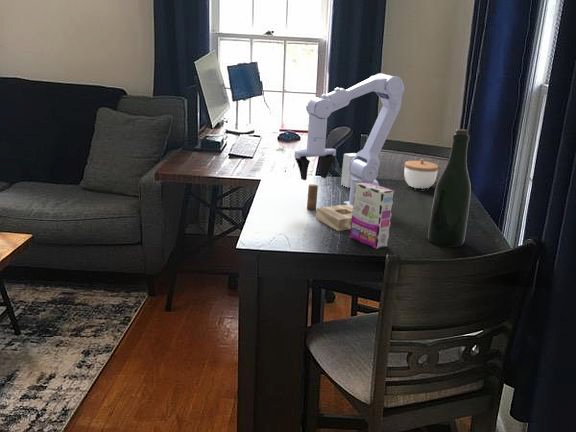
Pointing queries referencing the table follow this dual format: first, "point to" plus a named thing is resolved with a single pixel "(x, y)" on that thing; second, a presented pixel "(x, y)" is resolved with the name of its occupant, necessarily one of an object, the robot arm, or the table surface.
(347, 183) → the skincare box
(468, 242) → the table surface
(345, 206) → the holder block
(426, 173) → the lidded bowl
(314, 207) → the peg
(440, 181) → the beer bottle
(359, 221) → the candy bar box
